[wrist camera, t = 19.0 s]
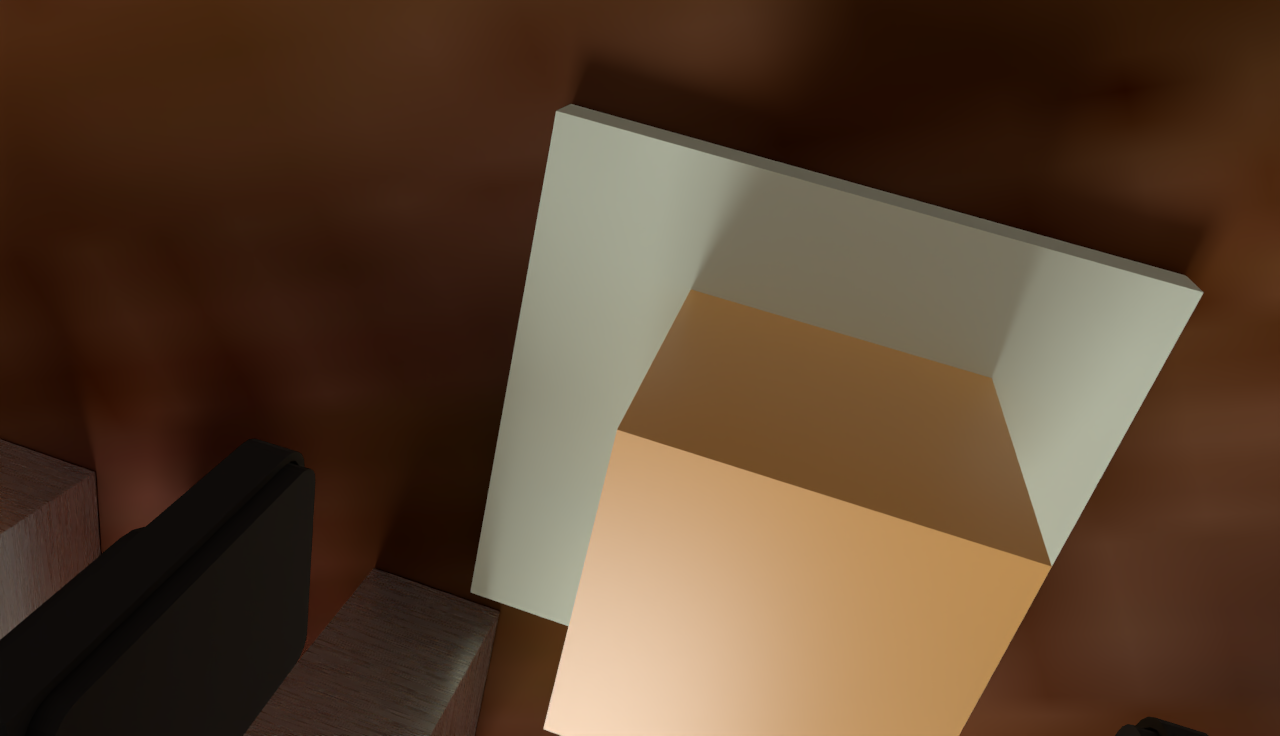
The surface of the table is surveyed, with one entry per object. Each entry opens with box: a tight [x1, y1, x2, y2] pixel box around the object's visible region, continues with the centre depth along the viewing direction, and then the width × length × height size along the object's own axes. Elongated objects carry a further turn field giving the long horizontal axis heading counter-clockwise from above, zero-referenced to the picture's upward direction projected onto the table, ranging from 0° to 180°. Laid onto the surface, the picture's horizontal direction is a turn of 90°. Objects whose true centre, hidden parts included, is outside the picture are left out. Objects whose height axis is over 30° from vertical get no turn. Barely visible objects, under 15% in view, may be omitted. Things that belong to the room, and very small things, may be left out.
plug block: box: [544, 290, 1052, 736], centre depth 13 cm, size 5×5×5 cm
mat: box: [470, 104, 1203, 626], centre depth 16 cm, size 10×10×1 cm
